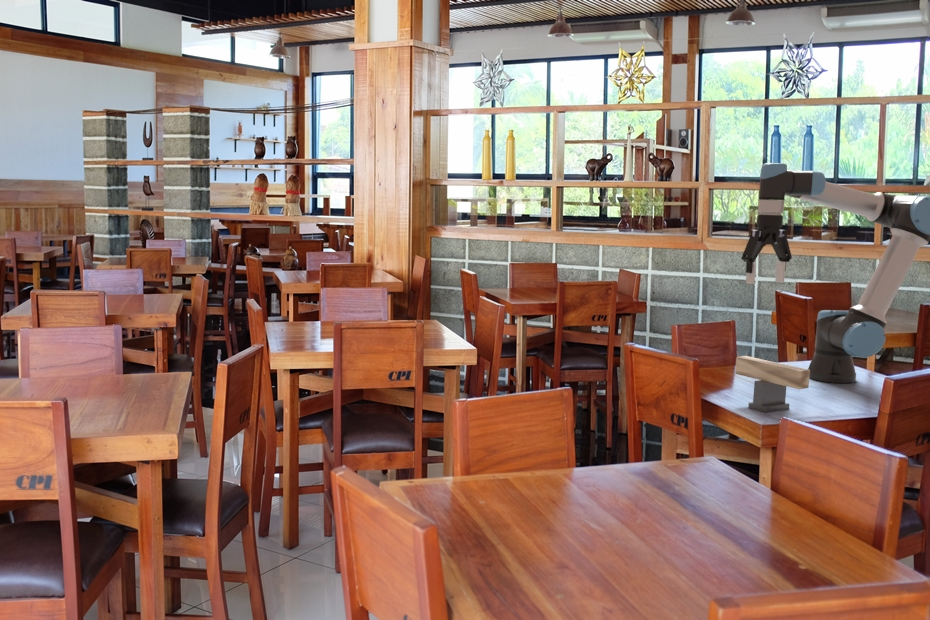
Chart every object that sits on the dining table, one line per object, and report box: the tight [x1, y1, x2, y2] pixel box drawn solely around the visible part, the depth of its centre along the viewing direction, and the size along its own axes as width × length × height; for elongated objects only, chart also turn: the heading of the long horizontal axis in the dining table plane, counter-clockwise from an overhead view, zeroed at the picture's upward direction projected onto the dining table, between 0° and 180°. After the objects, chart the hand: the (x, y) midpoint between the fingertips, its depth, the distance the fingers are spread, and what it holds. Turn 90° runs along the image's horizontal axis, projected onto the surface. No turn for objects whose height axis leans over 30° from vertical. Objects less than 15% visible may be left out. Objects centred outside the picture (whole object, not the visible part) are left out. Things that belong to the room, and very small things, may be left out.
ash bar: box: [734, 355, 810, 390], centre depth 256 cm, size 4×22×5 cm, turn 33°
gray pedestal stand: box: [747, 379, 790, 414], centre depth 257 cm, size 10×6×8 cm, turn 122°
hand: (765, 283), depth 281 cm, fingers open, 13 cm apart
